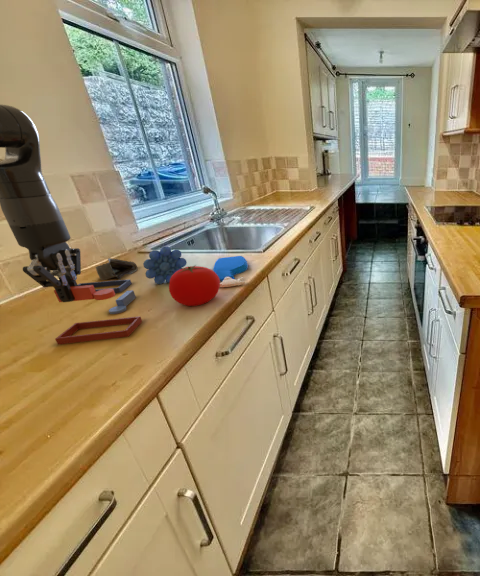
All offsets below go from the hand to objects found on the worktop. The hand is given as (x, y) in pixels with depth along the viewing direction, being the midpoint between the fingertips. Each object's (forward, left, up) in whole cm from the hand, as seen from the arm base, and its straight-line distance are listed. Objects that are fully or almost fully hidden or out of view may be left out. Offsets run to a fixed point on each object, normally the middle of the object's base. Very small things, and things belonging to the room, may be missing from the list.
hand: (71, 298), depth 69 cm
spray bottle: (+25, +33, -10) cm, 42 cm away
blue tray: (-11, +28, -10) cm, 32 cm away
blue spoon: (+1, +15, -10) cm, 17 cm away
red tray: (+3, 0, -10) cm, 10 cm away
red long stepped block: (+3, 0, 0) cm, 3 cm away
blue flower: (+7, +31, -10) cm, 33 cm away
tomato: (+20, +13, -10) cm, 26 cm away
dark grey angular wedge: (-13, +42, -10) cm, 45 cm away
